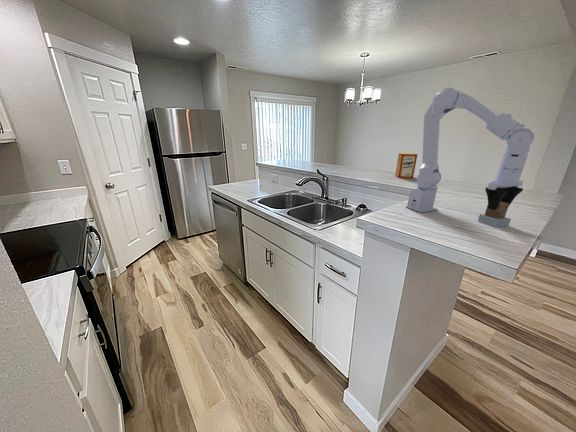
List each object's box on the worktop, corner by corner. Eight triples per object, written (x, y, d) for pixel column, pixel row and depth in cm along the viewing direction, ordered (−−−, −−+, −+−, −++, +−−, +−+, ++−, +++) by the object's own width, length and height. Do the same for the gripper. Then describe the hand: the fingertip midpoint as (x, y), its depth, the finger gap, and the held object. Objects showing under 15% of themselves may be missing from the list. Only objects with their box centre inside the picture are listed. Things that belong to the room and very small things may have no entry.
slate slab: (494, 228, 79) (497, 220, 78) (477, 222, 85) (479, 214, 84) (508, 226, 81) (511, 218, 80) (490, 220, 86) (492, 213, 85)
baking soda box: (409, 176, 164) (413, 152, 158) (412, 178, 158) (417, 153, 152) (395, 176, 165) (398, 152, 159) (398, 177, 159) (402, 153, 153)
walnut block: (497, 219, 79) (502, 204, 78) (484, 215, 83) (488, 201, 81) (504, 217, 81) (509, 203, 79) (491, 213, 84) (496, 200, 82)
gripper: (511, 171, 70) (497, 214, 75) (539, 169, 75) (524, 209, 79) (485, 168, 76) (474, 208, 81) (513, 165, 81) (500, 203, 86)
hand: (497, 208), depth 81 cm, fingers open, 6 cm apart
